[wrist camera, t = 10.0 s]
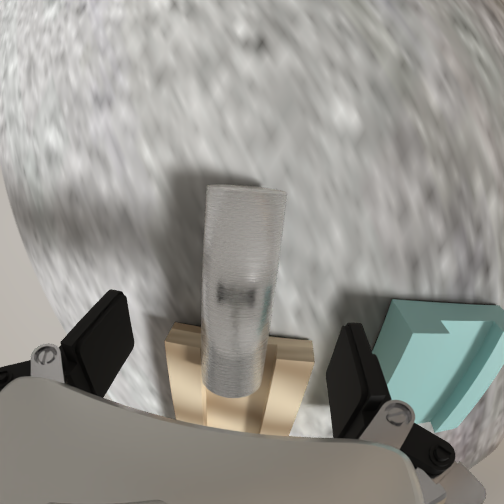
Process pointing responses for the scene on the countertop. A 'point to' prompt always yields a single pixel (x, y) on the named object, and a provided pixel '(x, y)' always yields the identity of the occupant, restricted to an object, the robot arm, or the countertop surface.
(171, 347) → the wooden grooved block
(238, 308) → the axle
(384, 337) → the cradle
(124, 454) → the robot arm
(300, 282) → the countertop surface
